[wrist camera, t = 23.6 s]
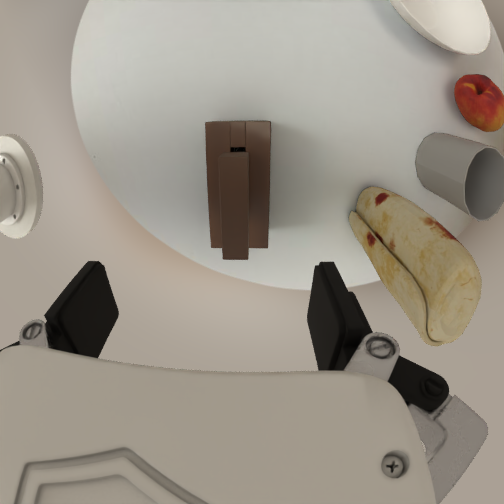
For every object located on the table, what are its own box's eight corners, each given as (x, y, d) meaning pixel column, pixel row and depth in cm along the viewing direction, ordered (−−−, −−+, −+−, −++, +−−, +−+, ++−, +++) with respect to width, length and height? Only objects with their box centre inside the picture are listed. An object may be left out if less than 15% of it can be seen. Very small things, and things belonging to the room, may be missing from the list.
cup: (466, 151, 27) (515, 170, 18) (447, 201, 30) (490, 230, 22) (427, 121, 25) (479, 131, 17) (406, 176, 29) (452, 203, 20)
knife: (233, 208, 32) (222, 259, 21) (232, 141, 28) (218, 156, 18) (250, 208, 32) (248, 259, 21) (250, 141, 28) (248, 156, 18)
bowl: (334, -16, 18) (351, -41, 12) (402, -47, 12) (424, -65, 6) (422, 79, 23) (456, 77, 17) (474, 35, 17) (504, 32, 11)
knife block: (217, 229, 33) (211, 247, 29) (213, 121, 27) (205, 122, 23) (266, 229, 33) (267, 248, 29) (268, 120, 27) (271, 121, 23)
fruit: (465, 65, 20) (503, 64, 13) (487, 114, 23) (524, 123, 16) (435, 85, 23) (475, 85, 16) (460, 137, 26) (499, 149, 19)
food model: (393, 240, 34) (475, 344, 16) (350, 252, 35) (413, 373, 17) (387, 171, 29) (503, 247, 12) (338, 182, 30) (430, 277, 13)
